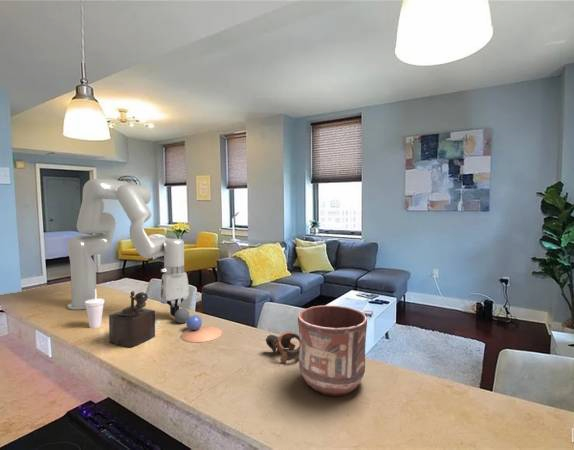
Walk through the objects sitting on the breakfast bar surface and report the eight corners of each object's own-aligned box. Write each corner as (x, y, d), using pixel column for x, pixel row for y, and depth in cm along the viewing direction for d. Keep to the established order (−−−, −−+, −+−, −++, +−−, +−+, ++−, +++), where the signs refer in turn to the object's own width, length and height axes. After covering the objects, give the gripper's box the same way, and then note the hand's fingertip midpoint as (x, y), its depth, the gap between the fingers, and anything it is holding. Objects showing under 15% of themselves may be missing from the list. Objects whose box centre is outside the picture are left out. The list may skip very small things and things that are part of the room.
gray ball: (178, 307, 124) (181, 321, 122) (190, 305, 128) (193, 318, 126) (170, 312, 127) (173, 326, 125) (182, 310, 131) (185, 323, 129)
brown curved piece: (303, 350, 104) (308, 334, 100) (296, 376, 97) (300, 359, 92) (268, 338, 106) (271, 321, 102) (258, 362, 98) (261, 345, 94)
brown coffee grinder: (106, 343, 107) (105, 289, 106) (134, 331, 117) (133, 282, 116) (141, 352, 101) (140, 295, 100) (167, 339, 111) (166, 287, 110)
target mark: (175, 332, 117) (175, 332, 116) (211, 324, 125) (211, 323, 125) (190, 346, 106) (190, 345, 106) (228, 335, 114) (228, 335, 114)
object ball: (184, 313, 119) (192, 319, 115) (198, 311, 123) (205, 317, 119) (182, 328, 119) (189, 334, 115) (196, 325, 123) (203, 331, 119)
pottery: (297, 365, 94) (298, 303, 93) (359, 367, 93) (361, 305, 92) (296, 402, 76) (296, 327, 75) (372, 406, 75) (374, 330, 74)
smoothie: (108, 323, 125) (108, 287, 124) (97, 329, 118) (96, 291, 118) (93, 322, 125) (92, 286, 125) (81, 329, 119) (80, 291, 118)
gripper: (159, 274, 121) (160, 322, 122) (196, 269, 132) (196, 313, 133) (151, 271, 127) (152, 317, 128) (187, 266, 137) (187, 309, 138)
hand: (174, 315), depth 130 cm, fingers closed
